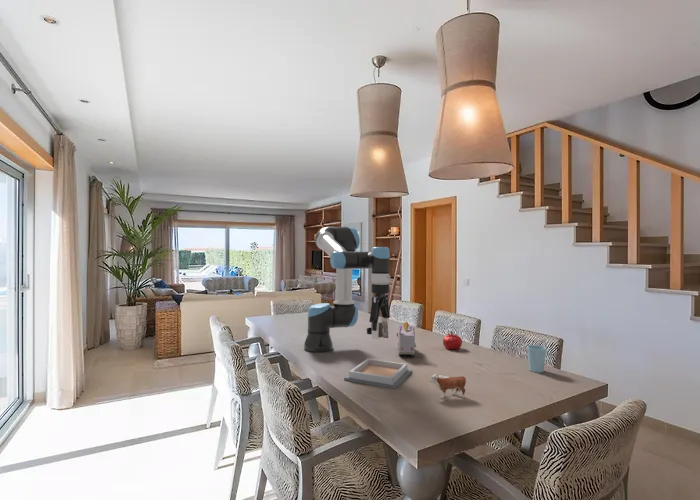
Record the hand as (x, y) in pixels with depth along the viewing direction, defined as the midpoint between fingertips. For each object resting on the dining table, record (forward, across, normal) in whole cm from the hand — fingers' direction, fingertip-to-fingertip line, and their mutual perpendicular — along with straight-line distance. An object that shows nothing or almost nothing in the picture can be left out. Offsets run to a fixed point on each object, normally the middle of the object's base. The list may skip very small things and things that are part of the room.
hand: (379, 335), depth 159 cm
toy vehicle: (+17, +39, 0) cm, 42 cm away
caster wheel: (+1, 0, +1) cm, 2 cm away
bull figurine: (+17, -12, -30) cm, 36 cm away
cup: (+17, +36, -60) cm, 72 cm away
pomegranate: (+17, +58, -21) cm, 64 cm away
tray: (+16, -1, 0) cm, 17 cm away
